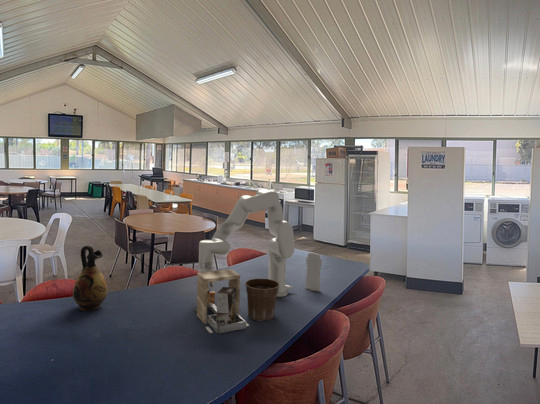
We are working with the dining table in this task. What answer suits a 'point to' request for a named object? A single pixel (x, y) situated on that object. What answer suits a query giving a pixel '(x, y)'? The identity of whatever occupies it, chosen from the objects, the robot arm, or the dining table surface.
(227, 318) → the coffee box
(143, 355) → the dining table surface
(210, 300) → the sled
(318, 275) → the tall pale column
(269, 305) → the plant pot
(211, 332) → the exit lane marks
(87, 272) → the ceramic jug
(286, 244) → the robot arm
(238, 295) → the tunnel
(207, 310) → the strip
